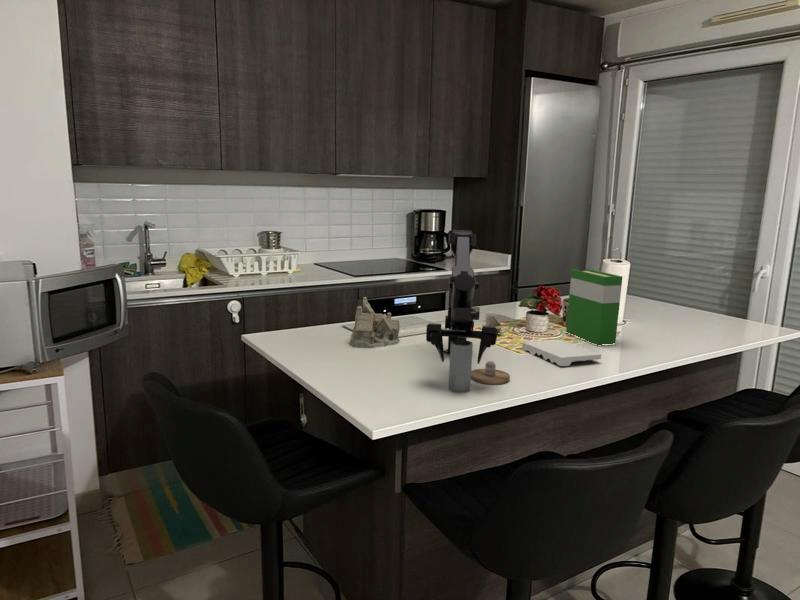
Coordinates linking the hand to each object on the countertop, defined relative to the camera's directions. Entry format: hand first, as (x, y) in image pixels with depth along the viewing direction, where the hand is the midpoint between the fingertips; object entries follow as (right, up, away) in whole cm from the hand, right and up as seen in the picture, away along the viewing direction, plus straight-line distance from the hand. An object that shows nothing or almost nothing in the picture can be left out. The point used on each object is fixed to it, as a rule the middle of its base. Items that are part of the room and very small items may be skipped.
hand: (460, 362), depth 153 cm
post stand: (+9, -6, +11) cm, 16 cm away
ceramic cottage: (-24, +2, +44) cm, 51 cm away
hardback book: (+52, +2, +58) cm, 78 cm away
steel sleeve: (0, -7, +2) cm, 7 cm away
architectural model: (+18, +3, +60) cm, 62 cm away
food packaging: (+35, -3, +35) cm, 50 cm away
